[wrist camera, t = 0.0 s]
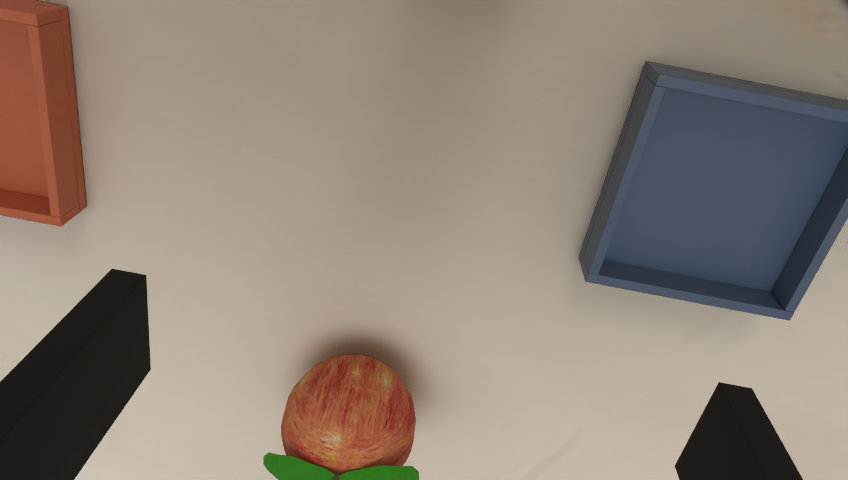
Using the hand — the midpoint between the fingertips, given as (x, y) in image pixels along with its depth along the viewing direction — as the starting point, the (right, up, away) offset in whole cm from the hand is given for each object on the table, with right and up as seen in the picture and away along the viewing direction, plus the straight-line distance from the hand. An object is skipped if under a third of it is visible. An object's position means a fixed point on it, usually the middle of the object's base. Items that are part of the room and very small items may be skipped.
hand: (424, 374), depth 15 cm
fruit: (-4, -7, +31) cm, 32 cm away
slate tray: (+17, +6, +22) cm, 28 cm away
